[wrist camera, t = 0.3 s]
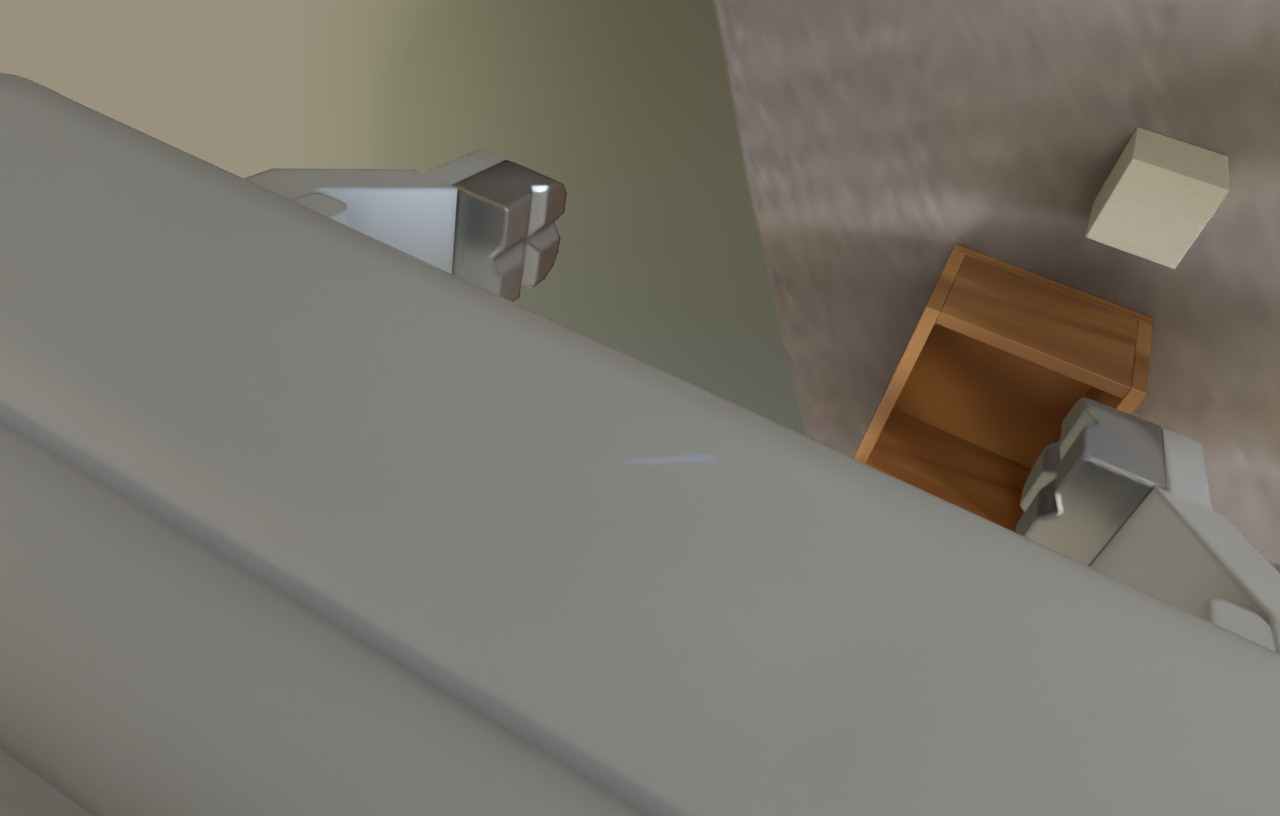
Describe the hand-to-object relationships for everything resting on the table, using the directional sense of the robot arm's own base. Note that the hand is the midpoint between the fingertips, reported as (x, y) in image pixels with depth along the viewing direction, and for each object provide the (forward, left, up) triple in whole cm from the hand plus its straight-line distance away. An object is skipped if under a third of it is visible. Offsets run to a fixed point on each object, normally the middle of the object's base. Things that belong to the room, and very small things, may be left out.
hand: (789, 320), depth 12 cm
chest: (+24, +8, -38) cm, 46 cm away
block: (+10, +10, -38) cm, 41 cm away
